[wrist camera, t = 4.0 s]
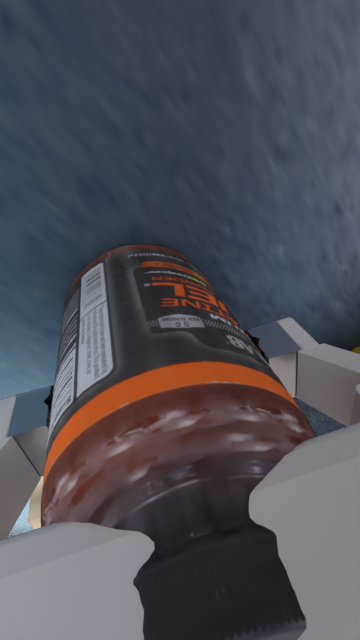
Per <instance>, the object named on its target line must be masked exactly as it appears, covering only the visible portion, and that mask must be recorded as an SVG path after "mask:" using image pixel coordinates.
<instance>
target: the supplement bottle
mask: <svg viewBox="0 0 360 640" xmlns="http://www.w3.org/2000/svg"><path fill="white" fill-rule="evenodd" d="M314 437H317V436H316V434H315V432H314V430H313V429H312V427H311V425H310V424H309V421H308V420H307V418H306V417H305V415H304V414H303V412H302V411H301V410H300V408H299V407H298V405H297V404H296V403H295V401H294V400H293V398H292V397H291V395H290V394H289V392H288V391H287V389H286V388H285V386H284V385H283V383H282V382H281V380H280V379H279V377H278V376H277V375H276V374H275V373H274V371H273V370H272V368H271V367H270V365H269V364H268V363H267V361H266V360H265V359H264V357H263V356H262V355H261V353H260V351H259V350H258V348H257V347H256V346H255V344H254V343H253V342H252V341H251V340H250V338H249V337H248V335H247V334H246V332H245V331H244V330H243V329H242V327H241V326H240V324H239V323H238V321H237V320H236V319H235V317H234V316H233V314H232V313H231V312H230V310H229V309H228V307H227V306H226V304H225V302H224V301H223V300H222V299H221V297H220V296H219V294H218V293H217V292H216V290H215V289H214V288H213V286H212V285H211V283H210V282H209V281H208V279H207V278H206V277H205V276H204V274H203V273H202V272H201V271H200V270H199V269H198V268H197V267H196V266H195V265H194V264H193V263H192V262H191V261H190V260H189V259H188V258H186V257H184V256H183V255H181V254H180V253H178V252H176V251H174V250H171V249H168V248H165V247H161V246H157V245H151V244H133V245H128V246H125V245H123V246H119V247H117V248H114V249H112V250H109V251H107V252H105V253H103V254H101V255H100V256H99V257H97V258H95V259H94V260H92V261H91V262H90V263H89V264H87V265H86V266H85V267H84V268H83V269H82V270H81V271H80V272H79V273H78V275H77V276H76V278H75V279H74V281H73V282H72V284H71V286H70V288H69V291H68V294H67V297H66V301H65V305H64V310H63V316H62V325H61V332H60V341H59V350H58V356H57V368H56V376H55V384H54V392H53V400H52V409H51V416H50V426H49V433H48V442H47V449H46V465H45V470H44V478H43V486H42V496H41V519H40V521H41V527H43V526H46V525H49V524H52V523H56V522H60V521H63V522H80V523H92V524H96V525H99V526H104V527H108V528H113V529H118V530H128V531H138V532H141V533H142V534H144V535H146V536H148V537H149V538H150V539H151V540H152V541H153V542H154V548H155V550H154V551H153V552H152V554H151V555H150V558H149V559H148V560H147V561H146V562H145V563H144V564H143V565H142V567H141V568H140V569H139V571H138V573H137V575H136V577H135V578H134V579H133V585H134V586H135V587H136V589H137V590H138V591H139V596H140V600H141V604H142V607H143V609H144V618H143V635H144V640H297V639H298V638H299V637H300V636H301V635H302V634H303V632H304V631H305V629H306V628H307V625H306V617H305V615H304V613H303V612H302V610H301V608H300V605H299V602H298V599H297V596H296V594H295V591H294V589H293V588H292V585H291V582H290V580H289V577H288V574H287V571H286V569H285V567H284V565H283V563H282V561H281V559H280V557H279V555H278V546H277V536H276V534H275V533H274V532H273V531H272V530H270V529H268V528H266V527H264V526H262V525H259V524H256V523H255V522H254V521H253V520H252V519H251V518H250V514H249V496H250V494H251V492H252V491H253V490H254V488H255V487H256V486H257V485H258V484H259V483H260V482H261V481H262V480H263V479H264V478H265V477H266V476H267V474H268V473H269V472H270V471H271V470H272V469H273V468H274V467H275V466H276V465H277V464H278V463H279V462H280V461H281V460H282V459H283V457H284V456H285V455H287V454H288V453H290V452H292V451H293V450H294V448H295V447H296V446H297V445H299V444H300V443H301V442H303V441H305V440H308V439H311V438H314Z"/></svg>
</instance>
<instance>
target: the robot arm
mask: <svg viewBox="0 0 360 640" xmlns="http://www.w3.org/2000/svg"><path fill="white" fill-rule="evenodd" d="M245 332H246V334H247V335H248V337H249V338H250V340H251V341H252V342H253V343H254V344H255V346H256V347H257V348H258V350H259V351H260V353H261V355H262V356H263V357H264V359H265V360H266V361H267V363H268V364H269V365H270V367H271V368H272V370H273V371H274V373H275V374H276V375H277V376H278V377H279V379H280V380H281V382H282V383H283V385H284V386H285V388H286V389H287V391H288V392H289V394H290V395H291V397H292V398H294V397H296V398H297V399H299V400H301V401H302V402H304V403H306V404H308V405H310V406H311V407H313V408H315V409H317V410H318V411H320V412H322V413H324V414H326V415H327V416H329V417H331V418H333V419H334V420H336V421H338V422H340V423H341V424H343V425H345V426H347V427H344V428H341V429H338V430H335V431H332V432H329V433H326V434H323V435H320V436H317V437H314V438H311V439H308V440H305V441H303V442H301V443H300V444H299V445H297V446H296V447H295V448H294V450H293V451H292V452H290V453H288V454H287V455H285V456H284V457H283V459H282V460H281V461H280V462H279V463H278V464H277V465H276V466H275V467H274V468H273V469H272V470H271V471H270V472H269V473H268V474H267V476H266V477H265V478H264V479H263V480H262V481H261V482H260V483H259V484H258V485H257V486H256V487H255V488H254V490H253V491H252V492H251V494H250V496H249V514H250V518H251V519H252V520H253V521H254V522H255V523H256V524H259V525H262V526H264V527H266V528H268V529H270V530H272V531H273V532H274V533H275V534H276V536H277V546H278V555H279V557H280V559H281V561H282V563H283V565H284V567H285V569H286V571H287V574H288V577H289V580H290V582H291V585H292V588H293V589H294V591H295V594H296V596H297V599H298V602H299V605H300V608H301V610H302V612H303V613H304V615H305V617H306V625H307V628H306V629H305V631H304V632H303V634H302V635H301V636H300V637H299V638H298V639H297V640H360V354H357V353H354V352H351V351H347V350H344V349H341V348H338V347H334V346H331V345H328V344H325V343H323V344H318V343H317V342H316V341H315V340H314V339H313V338H312V337H311V336H310V335H309V334H308V333H307V332H306V331H305V330H304V329H303V328H302V327H301V326H300V325H299V324H298V323H297V322H296V321H295V320H294V319H293V318H291V317H287V318H284V319H280V320H277V321H274V322H272V323H269V324H265V325H262V326H258V327H255V328H252V329H248V330H245ZM53 392H54V386H53V385H51V386H48V387H44V388H40V389H36V390H32V391H29V392H25V393H21V394H19V395H14V396H11V397H7V398H3V399H1V400H0V640H144V635H143V618H144V609H143V607H142V604H141V600H140V596H139V591H138V590H137V589H136V587H135V586H134V585H133V579H134V578H135V577H136V575H137V573H138V571H139V569H140V568H141V567H142V565H143V564H144V563H145V562H146V561H147V560H148V559H149V558H150V555H151V554H152V552H153V551H154V550H155V548H154V542H153V541H152V540H151V539H150V538H149V537H148V536H146V535H144V534H142V533H141V532H138V531H128V530H118V529H113V528H108V527H104V526H99V525H96V524H92V523H80V522H63V521H60V522H56V523H52V524H49V525H46V526H43V527H40V528H37V529H34V530H31V531H28V532H25V533H22V534H19V535H16V536H13V537H10V538H7V536H8V535H9V533H10V531H11V529H12V528H13V526H14V524H15V523H16V521H17V519H18V517H19V516H20V514H21V512H22V510H23V509H24V507H25V505H26V504H27V502H28V500H29V498H30V497H31V495H32V493H33V492H34V490H35V488H36V486H37V485H38V483H39V481H40V479H41V478H40V477H42V476H44V470H45V465H46V449H47V442H48V433H49V426H50V416H51V409H52V400H53ZM6 538H7V539H6Z"/></svg>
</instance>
